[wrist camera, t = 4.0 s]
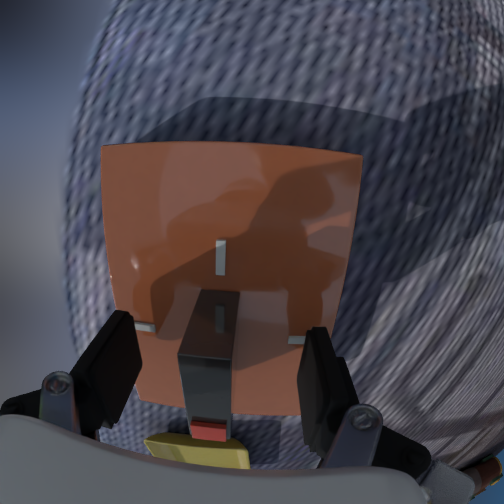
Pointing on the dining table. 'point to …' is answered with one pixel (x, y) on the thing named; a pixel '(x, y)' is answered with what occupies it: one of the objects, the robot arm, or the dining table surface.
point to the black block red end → (210, 364)
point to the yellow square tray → (199, 450)
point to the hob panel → (229, 253)
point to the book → (485, 474)
